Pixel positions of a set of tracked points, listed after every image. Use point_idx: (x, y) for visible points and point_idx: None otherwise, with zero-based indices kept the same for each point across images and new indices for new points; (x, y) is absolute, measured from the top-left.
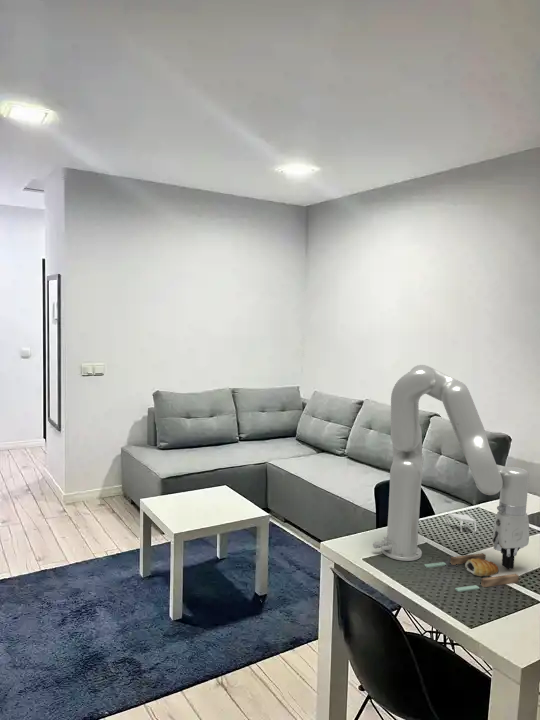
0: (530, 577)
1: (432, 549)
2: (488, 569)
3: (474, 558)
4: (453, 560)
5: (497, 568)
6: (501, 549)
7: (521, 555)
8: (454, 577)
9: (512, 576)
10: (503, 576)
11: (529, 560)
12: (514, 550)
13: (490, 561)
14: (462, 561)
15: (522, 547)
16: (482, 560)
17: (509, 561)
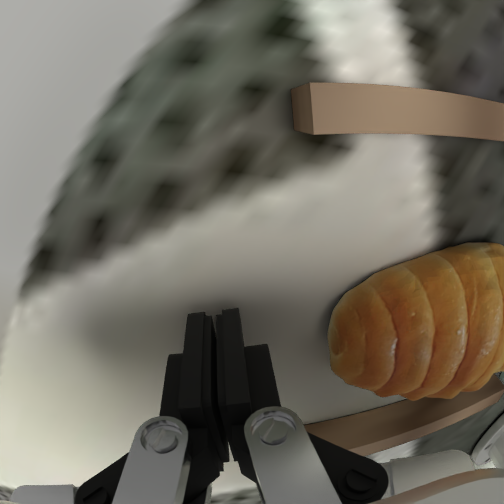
0: (92, 174)
1: None
2: (479, 269)
3: (387, 425)
4: (499, 382)
5: (376, 302)
6: (385, 481)
7: (43, 436)
8: None
9: (396, 88)
10: (473, 118)
11: (14, 395)
12: (173, 484)
13: (382, 382)
14: None
15: (39, 489)
16: (472, 363)
17: (244, 364)
